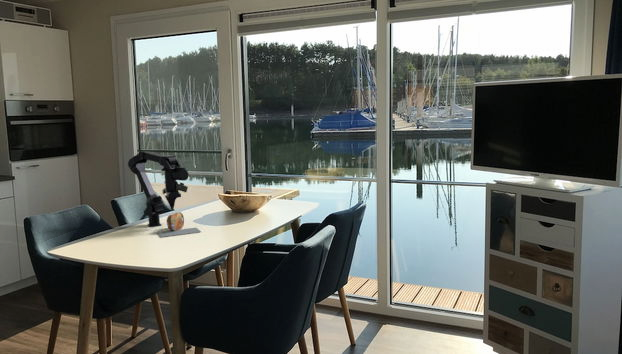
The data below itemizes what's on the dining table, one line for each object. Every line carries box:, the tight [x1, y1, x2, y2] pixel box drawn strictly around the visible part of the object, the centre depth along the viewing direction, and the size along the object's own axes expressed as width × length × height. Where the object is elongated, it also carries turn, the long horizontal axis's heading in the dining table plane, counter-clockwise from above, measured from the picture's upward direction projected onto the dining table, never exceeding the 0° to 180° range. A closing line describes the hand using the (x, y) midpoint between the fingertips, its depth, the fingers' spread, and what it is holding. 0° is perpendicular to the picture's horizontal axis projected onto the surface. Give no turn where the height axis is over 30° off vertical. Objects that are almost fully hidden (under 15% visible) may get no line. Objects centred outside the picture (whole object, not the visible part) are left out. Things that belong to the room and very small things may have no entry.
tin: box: [166, 211, 185, 231], centre depth 277 cm, size 15×3×8 cm, turn 168°
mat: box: [156, 227, 202, 238], centre depth 271 cm, size 11×20×1 cm, turn 116°
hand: (172, 208), depth 282 cm, fingers closed
